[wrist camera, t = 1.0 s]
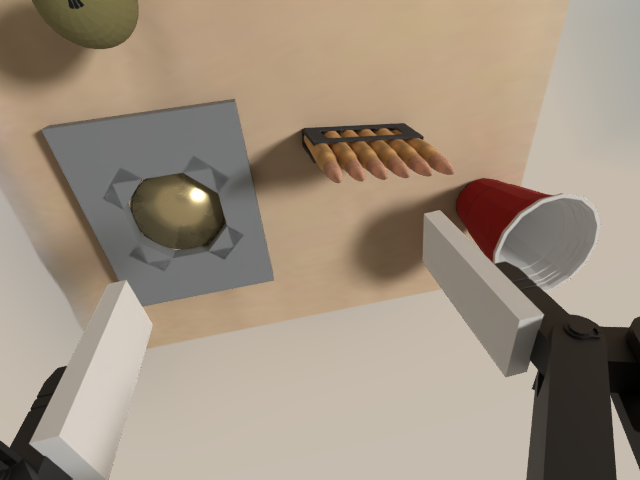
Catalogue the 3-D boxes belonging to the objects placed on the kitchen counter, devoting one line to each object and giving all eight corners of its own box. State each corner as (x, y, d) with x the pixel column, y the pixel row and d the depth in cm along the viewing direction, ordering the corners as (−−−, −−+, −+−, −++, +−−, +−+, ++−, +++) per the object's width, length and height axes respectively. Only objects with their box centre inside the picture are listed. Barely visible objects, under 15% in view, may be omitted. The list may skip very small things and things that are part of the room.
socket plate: (49, 125, 31) (41, 129, 29) (234, 99, 32) (234, 101, 31) (136, 299, 41) (133, 308, 40) (272, 272, 43) (273, 280, 42)
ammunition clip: (302, 146, 36) (326, 194, 26) (302, 128, 35) (326, 170, 25) (402, 141, 38) (462, 183, 27) (404, 123, 37) (467, 160, 27)
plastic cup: (531, 152, 41) (626, 193, 31) (505, 233, 47) (578, 290, 37) (445, 157, 39) (515, 202, 29) (429, 240, 45) (483, 302, 35)
